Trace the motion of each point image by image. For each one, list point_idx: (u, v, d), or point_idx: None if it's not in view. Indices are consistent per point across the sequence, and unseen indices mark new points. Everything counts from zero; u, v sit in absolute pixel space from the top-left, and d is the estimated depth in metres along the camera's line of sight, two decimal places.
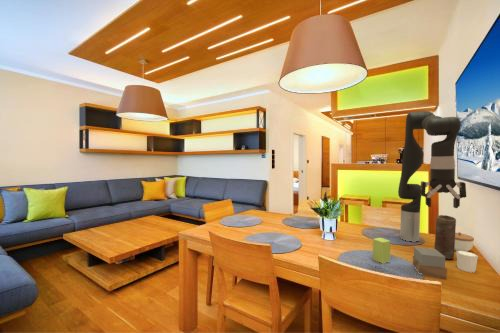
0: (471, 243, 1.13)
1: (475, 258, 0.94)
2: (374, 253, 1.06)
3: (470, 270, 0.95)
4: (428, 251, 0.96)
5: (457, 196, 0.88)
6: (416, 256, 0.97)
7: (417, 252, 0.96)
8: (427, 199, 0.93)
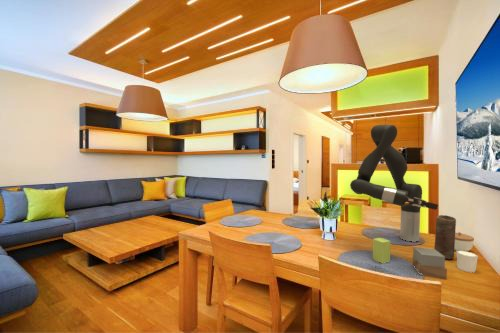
0: (471, 243, 1.13)
1: (475, 258, 0.94)
2: (374, 253, 1.06)
3: (470, 270, 0.95)
4: (427, 251, 0.96)
5: (422, 206, 0.98)
6: (415, 256, 0.97)
7: (417, 252, 0.96)
8: (427, 206, 1.04)
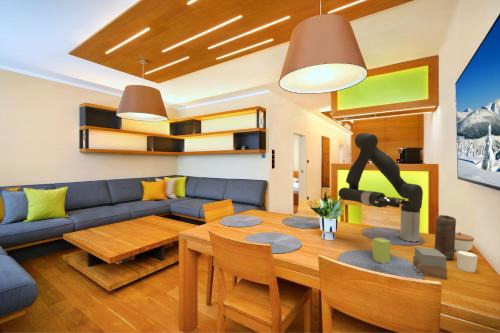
0: (471, 243, 1.13)
1: (475, 258, 0.94)
2: (374, 253, 1.06)
3: (470, 270, 0.95)
4: (429, 251, 0.96)
5: None
6: (417, 256, 0.97)
7: (418, 252, 0.96)
8: None
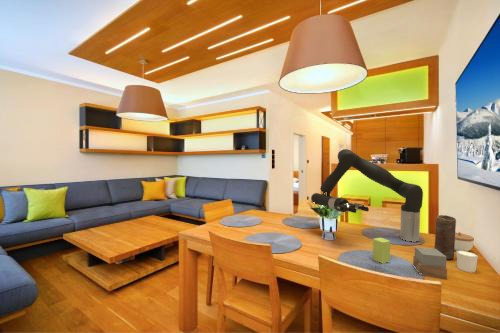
0: (471, 243, 1.13)
1: (475, 258, 0.94)
2: (374, 253, 1.06)
3: (470, 270, 0.95)
4: (429, 251, 0.96)
5: None
6: (417, 256, 0.97)
7: (418, 252, 0.96)
8: None
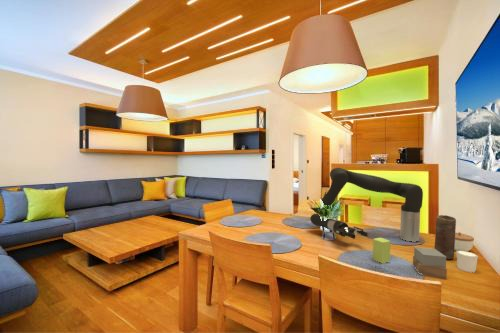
0: (471, 243, 1.13)
1: (475, 258, 0.94)
2: (374, 253, 1.06)
3: (470, 270, 0.95)
4: (428, 251, 0.96)
5: None
6: (417, 256, 0.97)
7: (418, 252, 0.96)
8: None
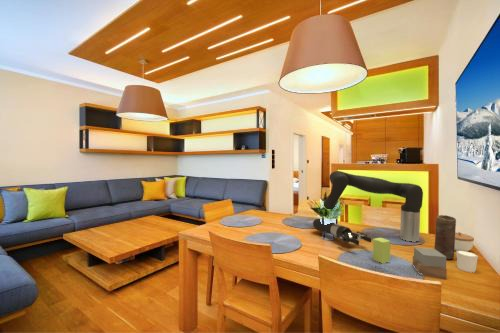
0: (471, 243, 1.13)
1: (475, 258, 0.94)
2: (374, 253, 1.06)
3: (470, 270, 0.95)
4: (428, 251, 0.95)
5: None
6: (417, 257, 0.97)
7: (418, 252, 0.96)
8: None
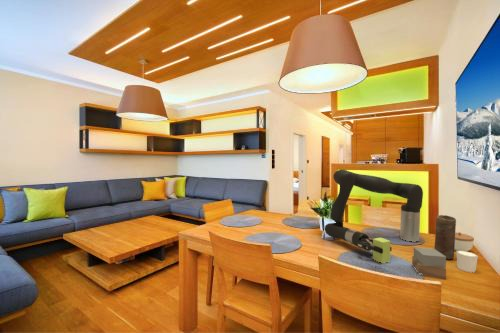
0: (471, 243, 1.13)
1: (475, 258, 0.94)
2: (374, 253, 1.06)
3: (470, 270, 0.95)
4: (428, 251, 0.96)
5: None
6: (416, 256, 0.97)
7: (417, 252, 0.96)
8: None
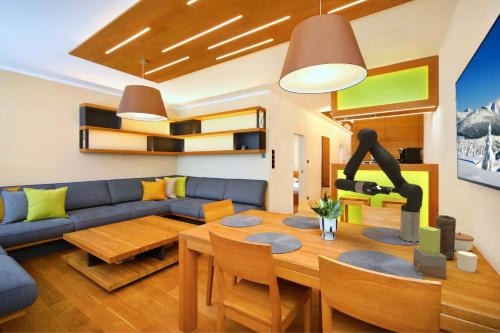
0: (471, 243, 1.13)
1: (475, 258, 0.94)
2: (421, 243, 0.95)
3: (470, 270, 0.95)
4: None
5: None
6: (417, 257, 0.97)
7: (418, 253, 0.96)
8: None
